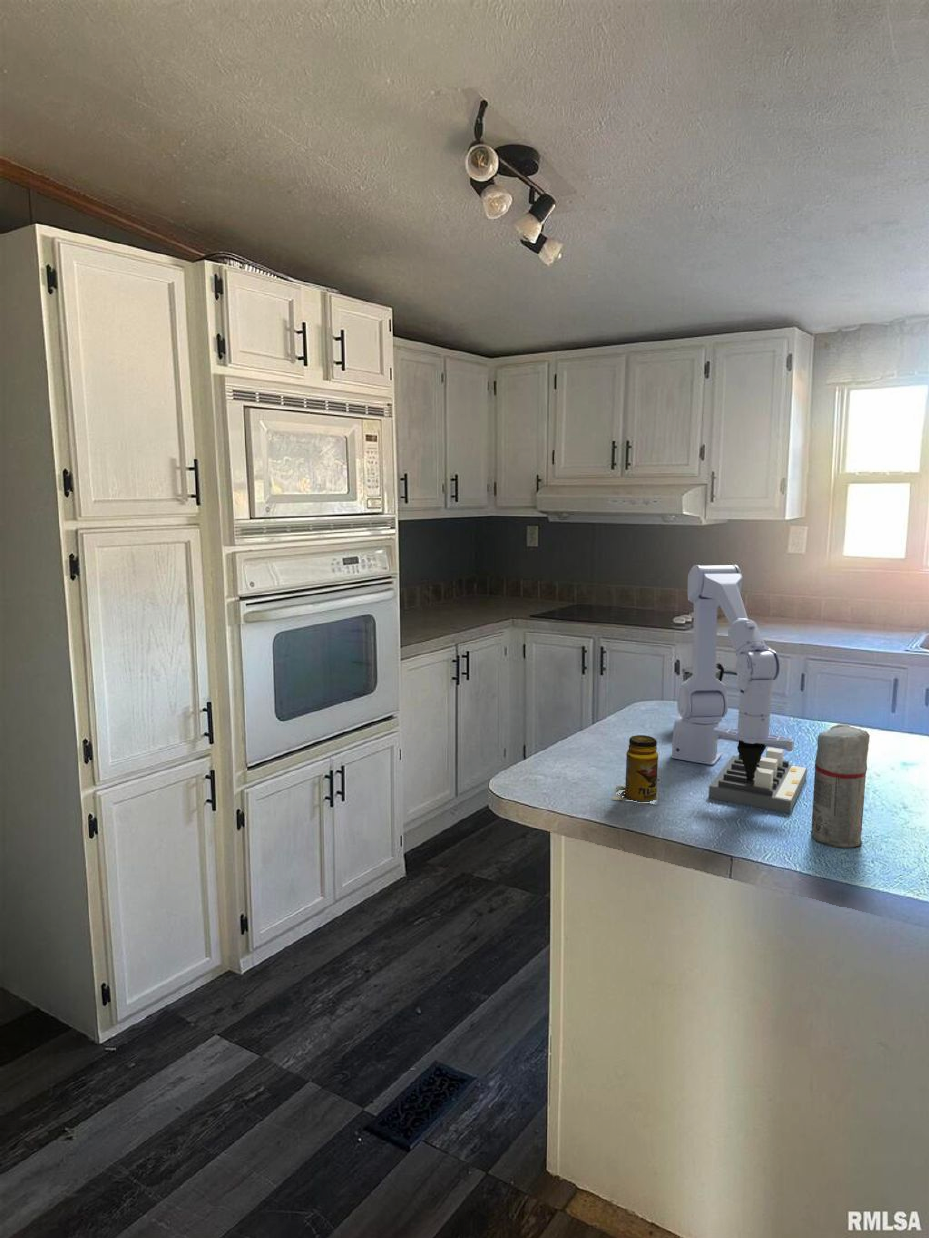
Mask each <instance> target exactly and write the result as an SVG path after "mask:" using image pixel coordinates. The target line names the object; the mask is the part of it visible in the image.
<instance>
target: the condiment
mask: <svg viewBox="0 0 929 1238" xmlns="http://www.w3.org/2000/svg"><path fill="white" fill-rule="evenodd" d="M628 742H629V744H628V750H627V751H626V758H625V761H626V763H625V765H626V767H625V785H624V786H623V785H616V787H615V790H614V792H615V791H616V792H618V791H619V790H625V791H623V792H622V793H621V794H620V793H619V794H620V795H618V794H617V795H616V794H615V795H614V794H613V797H612V801H619V800H623V801H622V802H627V801H626V800H633V801H637V802H650V801H653V800H658V801H659V795H660V790H657V788H658V769H659V768H658V762H659V754H658V751H657V743H658V742H657V739H656V738H654V737H653V736H649V735H644V734H643V735H642V734H636V735H632V736H631V737H629V739H628ZM624 793H625V794H624ZM622 796H624V797H625V798H624V797H623V798H622ZM628 802H629V803H632V802H631V801H628ZM657 805H658V802H655V805H654V804H653V806H657Z"/></svg>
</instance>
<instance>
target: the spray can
mask: <svg viewBox="0 0 929 1238" xmlns="http://www.w3.org/2000/svg"><path fill="white" fill-rule="evenodd" d="M816 742H817V743H816V744H817V750H816V754H815V760H814V776H813V777H814V779H813V798H812V813H811V814H812V815H811V831H810V833H811V836H812V837H813V839H814V840H816V841H817V842H819V843H822V844H824V845H826V846H830V847H837V848H845V849H849V848H854V847H855V848H856V847H858V846H861V845H862V843H863V841H862V831H863V817H864V816H863V815H864V803H865V791H866V778H867V771H868V765H867V764H868V755H869V753H868V752H869V745H870V734H869V733H868V731H866V730H864V729H861V728H857V727H855V726H851V725H849V724H841V723H840V724H836V725H833V726H831V727H830V728H829V730H827V731H823V732H820V733H819V734H818V736H817V741H816Z"/></svg>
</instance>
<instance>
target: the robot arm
mask: <svg viewBox="0 0 929 1238" xmlns="http://www.w3.org/2000/svg"><path fill="white" fill-rule="evenodd" d="M742 587H743V573H742V571H741V569H740V567H739V566H738V565H737V564H731V565H727V564H726V565H725V564H724V565H723V564H722V565H720V564H718V565H707V564H706V565H699V564H695V565H693V566H692V567H691V568H690V570H689V573H688V575H687V600H688V601H689V602H690V603H692V604H693V625H692V626H693V631H692V632H693V635H692V637H693V639H692V640H693V641H692V642H693V643H692V665H693V675H692V676H691V677H690V678H689V679H687V680H686V681H683V682H681V683H680V685H679V693H678V696H677V700H676V701H677V702H676V704H677V705H676V706H677V707H676V708H677V710H678V714H679V716H676V718H675V720H674V724H673V729H672V744H671V745H672V749H671V750H672V751H671V756H670V758H671V759H675V760H681V761H685V762H686V761H687V762H692V763H698V764H705V765H709V766H714V765H716V763H717V762H718V761H719V759H720V758H721V757H722V755H723V754H722V753H721V752H718V741H719V740H724V741H728V742H729V741H730V742H735V743H738V745H737V747H736V748H737V752H738V755H739V754H740V756H741V758H742V761H743V764H744V767H745V771H746V777H747V781H750V782H751V781H752V780H753V777H754V772H755V769H756V766H757V764H758V761H759V759H760V757H762V755H763V753H764V752H765V750H766V748H768V747H770V748H776V749H783V750H785V751H787V752H793V751H794V746H795V739H794V738H791V737H790V738H789V737H785V736H781V735H776V734H774V733H773V734H772V733H770V726H771V723H770V722H771V709H772V697H773V696H772V694H773V681H775V680H777V679H778V678H779V676H780V671H781V666H780V665H781V663H780V658H779V656H778V653H777V652H776V650H774V649H772V648H771V646H767V645H766V643H765V641H764V639H763V635H762V634H761V631H760V629H759V627H758V625H757V622H756V621H754V620H752V619H749V617H748V615H747V611H746V608H745V604H744V601H743V599H742V595H741V591H742ZM718 607H720V608H721V610H722V612H723V614H724V616H725V618H726V620H727V622H728V624H729V627H728V629H727V635H728V638H729V640H730V643H731V645H732V648H733V650H734V653H735V655H736V662H735V672H736V675H737V688H739V701H738V702H739V703H738V715H737V716H738V719H737V728H726V727H719V723H720V722H722V721H723V720H722V719H723V718H725V717H726V716H727V713H728V711H729V699H728V695H727V694H728V693H727V687H726V684H725V683H724V682H722V681H719V680H718V679H717V678H716V664H717V633H718V632H717V631H718V628H717V627H718ZM698 690H711V691H698Z"/></svg>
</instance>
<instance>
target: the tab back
mask: <svg viewBox="0 0 929 1238" xmlns="http://www.w3.org/2000/svg"><path fill="white" fill-rule="evenodd" d="M765 750H766V751H765V757H766V758H772V759H778V763H777V766H779V767H782V766H783V760H784V752H785V751H784V750H785V749H779V748H773V747H767V749H765Z"/></svg>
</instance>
